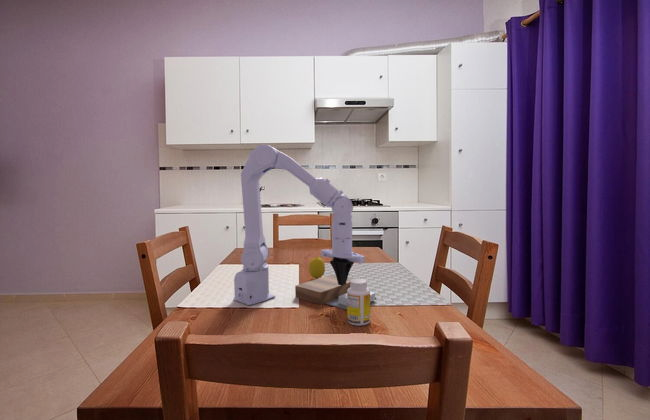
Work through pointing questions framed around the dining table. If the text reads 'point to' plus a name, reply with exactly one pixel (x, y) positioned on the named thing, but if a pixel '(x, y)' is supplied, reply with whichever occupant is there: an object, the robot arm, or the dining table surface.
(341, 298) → the light grey block
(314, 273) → the lemon
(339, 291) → the block
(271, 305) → the dining table surface
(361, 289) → the supplement bottle
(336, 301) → the mat
